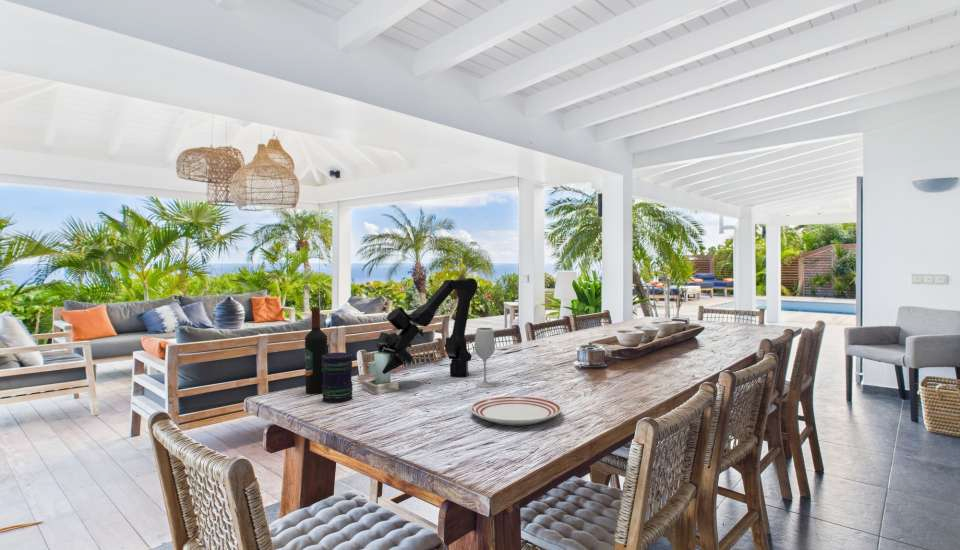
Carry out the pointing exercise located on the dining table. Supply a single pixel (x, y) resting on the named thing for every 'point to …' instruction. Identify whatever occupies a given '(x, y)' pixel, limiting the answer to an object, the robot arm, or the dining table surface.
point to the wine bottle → (314, 354)
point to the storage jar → (337, 377)
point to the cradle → (379, 387)
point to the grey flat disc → (408, 384)
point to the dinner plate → (515, 409)
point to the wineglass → (484, 350)
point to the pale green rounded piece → (380, 368)
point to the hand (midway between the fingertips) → (379, 371)
